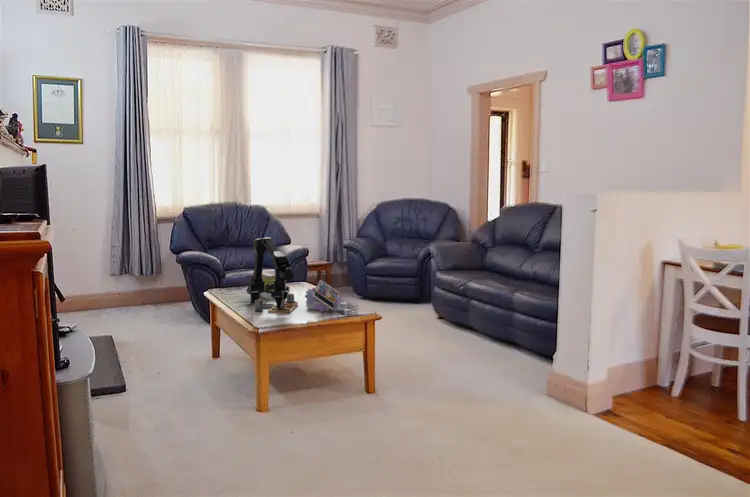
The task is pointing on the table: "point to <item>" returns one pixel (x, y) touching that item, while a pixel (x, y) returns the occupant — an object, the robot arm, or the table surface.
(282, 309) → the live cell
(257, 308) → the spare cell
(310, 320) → the table surface
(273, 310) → the trough board
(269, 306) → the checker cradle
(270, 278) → the tea box
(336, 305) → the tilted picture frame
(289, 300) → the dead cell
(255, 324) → the table surface
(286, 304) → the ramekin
